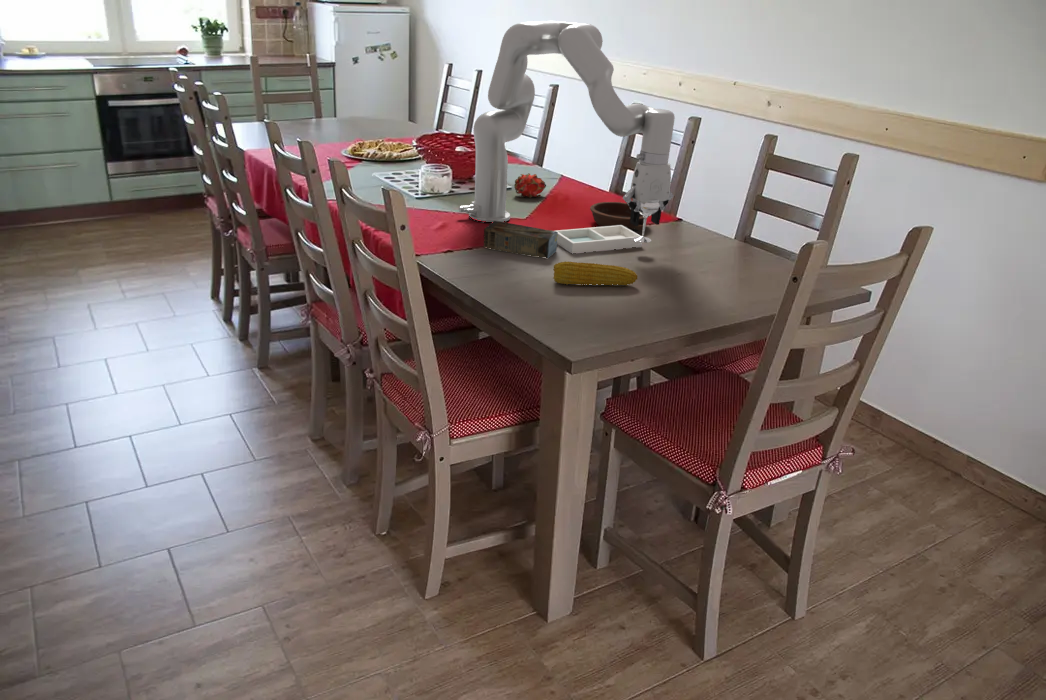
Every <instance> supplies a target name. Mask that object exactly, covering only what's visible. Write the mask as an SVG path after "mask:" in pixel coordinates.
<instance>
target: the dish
mask: <svg viewBox="0 0 1046 700" xmlns="http://www.w3.org/2000/svg"><path fill="white" fill-rule="evenodd" d="M589 208H590V209H589V210H590V211H591V214H592V217H593V220H594V222H595V224H596V225H598V226H599V227H604V226H616V225H623V226H624V227H626V228H628V229H630V230H635V231H641V232H643V223H644V217H643V215H641V214H640V217H639V224H638V226H634V225H633V224H631V223H630V216H631V209H630V207H629V206H628V205H627V203H626V202H621V201H620V202H619V201H601V202H597V203H594V204H592V205H591V206H589Z"/></svg>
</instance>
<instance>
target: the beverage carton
mask: <svg viewBox="0 0 1046 700" xmlns="http://www.w3.org/2000/svg"><path fill="white" fill-rule="evenodd" d="M556 231H557V230H550V229H545V228H538V227H533V226H528V225H521V224H515V223H509V222H507V221H505V222H500V221H494V222H493V223H488V225H487V226H485V227H484V228H483V248H484V247H487V248H491V249H490V250H492V249H495V250H494V251H498V250H501V251H500V252H504V251H507V252H506V253H509V252H513V253H512V254H515V253H518V254H517V255H521V254H525V255H524V256H527V255H531V256H530V257H532V256H539V257H546V258H549V257H550V256H551V255H552V254H553V253H554V254H555V253H556V252H557V247H558V244H557V237H558V232H556ZM554 254H553V255H554ZM553 255H552V256H553ZM552 256H551V257H552ZM539 257H538V258H539ZM551 257H550V258H551ZM550 258H549V259H550Z"/></svg>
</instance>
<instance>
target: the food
mask: <svg viewBox="0 0 1046 700" xmlns="http://www.w3.org/2000/svg"><path fill="white" fill-rule="evenodd" d="M552 279H553V281H554V282H555V283H556V282H557V284H562V285H565V284H566V285H568V284H581V285H580V286H583V285H584V284H585V286H586V284H587V285H589V284H592V285H596V284H598V285H601V284H604V285H612V284H613V285H617V284H618V285H626V286H628V285H627V284H629V285H633V283H636V281H637V280H638V274H637V273H636V271H634V270H632V269H630V268H627V267H623V266H621V265H612V264H602V263H594V262H593V263H592V262H575V261H567V260H566V261H560V262H557V263H555V264H553V277H552ZM582 284H583V285H582Z"/></svg>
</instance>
